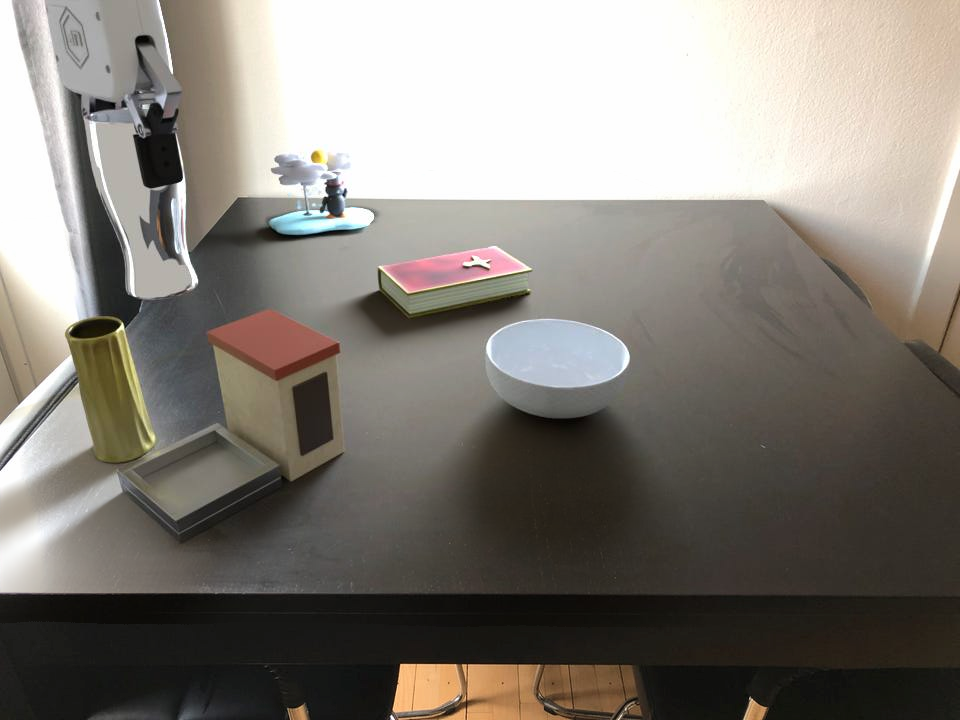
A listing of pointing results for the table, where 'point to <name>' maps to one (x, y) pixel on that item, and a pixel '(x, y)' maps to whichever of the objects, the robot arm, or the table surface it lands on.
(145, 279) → the beer glass
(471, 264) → the hardcover book
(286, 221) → the penguin figurine
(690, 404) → the table surface
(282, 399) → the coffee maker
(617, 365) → the cereal bowl
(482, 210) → the table surface
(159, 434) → the table surface
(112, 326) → the vase
